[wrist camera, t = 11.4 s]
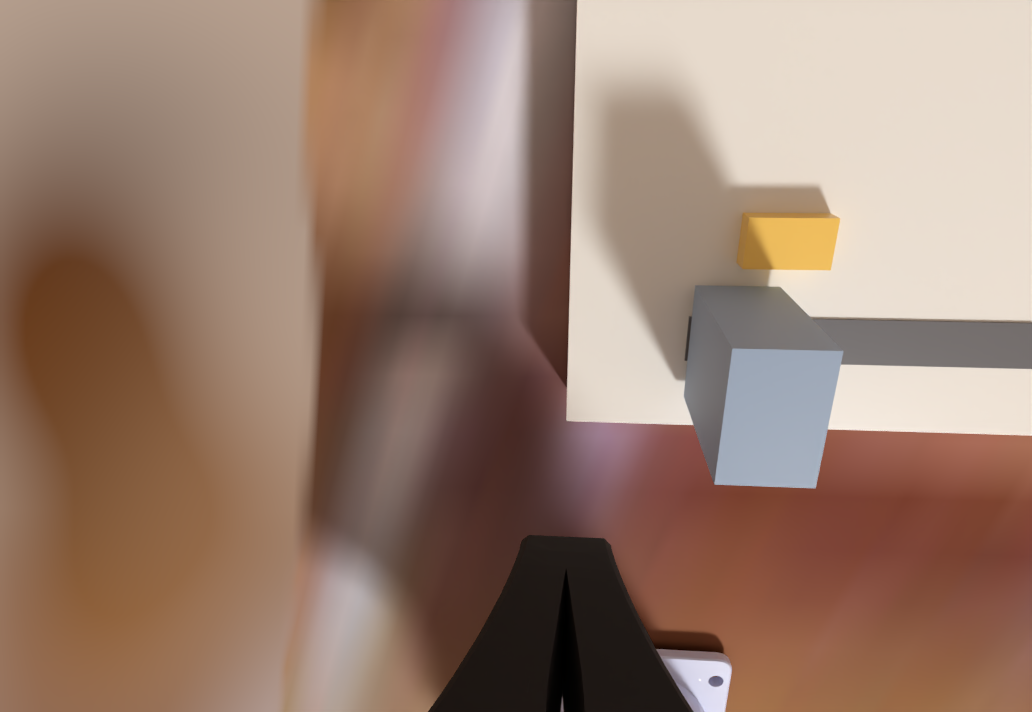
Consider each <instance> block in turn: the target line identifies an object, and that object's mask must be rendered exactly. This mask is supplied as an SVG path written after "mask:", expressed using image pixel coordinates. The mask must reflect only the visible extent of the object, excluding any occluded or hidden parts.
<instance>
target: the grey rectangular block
mask: <svg viewBox="0 0 1032 712" xmlns="http://www.w3.org/2000/svg"><path fill="white" fill-rule="evenodd" d="M842 356H843V350H842V349H841V348H840V347H839V346H838V345H837V344H836V343H835V342H834V341H833V340H832V339H831V338H830V337H829V336H828V335H827V334H826V333H825V332H824V331H823V330H822V329H821V328H820V327H819V326H818V325H817V324H816V323H815V322H814V321H813V320H812V319H811V318H810V316H809V315H808V314H807V313H806V312H805V311H804V310H803V309H802V308H801V307H800V306H799V305H798V304H797V303H796V302H795V301H794V300H793V299H792V298H791V297H790V296H789V295H788V294H787V293H786V292H785V291H784V290H783V289H782V288H781V287H769V286H704V285H695V292H694V302H693V311H692V321H691V330H690V340H689V350H688V359H687V369H686V379H685V388H684V399H685V402H686V405H687V407H688V410H689V413H690V416H691V419H692V422H693V425H694V428H695V430H696V433H697V436H698V439H699V442H700V445H701V448H702V450H703V453H704V456H705V459H706V462H707V465H708V468H709V470H710V473H711V476H712V479H713V482H714V484H715V485H742V486H769V487H795V488H816V483H817V478H818V473H819V469H820V464H821V459H822V454H823V449H824V444H825V439H826V434H827V430H828V425H829V420H830V415H831V410H832V405H833V400H834V395H835V390H836V386H837V381H838V376H839V371H840V366H841V361H842Z"/></svg>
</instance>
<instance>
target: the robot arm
mask: <svg viewBox="0 0 1032 712" xmlns="http://www.w3.org/2000/svg"><path fill="white" fill-rule="evenodd" d="M731 673H732V668H731V663H730V660H729V658H728V657H727V656H726V655H724V654H723V653H718V652H703V651H685V650H667V649H656V648H655V646H654V644H653V642H652V641H651V639H650V637H649V635H648V633H647V631H646V629H645V627H644V625H643V623H642V621H641V619H640V618H639V616H638V614H637V611H636V609H635V607H634V605H633V603H632V601H631V599H630V596H629V594H628V592H627V590H626V587H625V585H624V583H623V580H622V578H621V575H620V573H619V570H618V568H617V565H616V562H615V559H614V556H613V553H612V549H611V545H610V544H609V543H608V542H607V541H606V540H605V539H603V538H581V537H558V536H535V535H529V536H527V537H526V538H525V539H523V540H522V542H521V546H520V550H519V553H518V556H517V558H516V561H515V564H514V566H513V569H512V571H511V573H510V576H509V578H508V580H507V582H506V584H505V586H504V589H503V591H502V593H501V595H500V597H499V599H498V601H497V602H496V604H495V606H494V608H493V610H492V612H491V614H490V615H489V617H488V619H487V621H486V623H485V625H484V627H483V629H482V630H481V632H480V634H479V635H478V637H477V639H476V640H475V642H474V644H473V645H472V647H471V648H470V650H469V652H468V653H467V655H466V656H465V658H464V660H463V661H462V663H461V664H460V666H459V668H458V669H457V671H456V672H455V674H454V675H453V677H452V678H451V680H450V681H449V683H448V684H447V686H446V687H445V689H444V690H443V692H442V693H441V695H440V696H439V697H438V699H437V700H436V702H435V703H434V704H433V706H432V707H431V708H430V710H429V711H428V712H725V709H726V703H727V697H728V691H729V685H730V679H731ZM712 676H717V677H712Z"/></svg>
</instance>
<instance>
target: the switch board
mask: <svg viewBox="0 0 1032 712" xmlns="http://www.w3.org/2000/svg"><path fill="white" fill-rule="evenodd" d="M695 285H704V286H769V287H781V288H782V289H783V290H784V291H785V292H786V293H787V294H788V295H789V296H790V297H791V298H792V299H793V300H794V301H795V302H796V303H797V304H798V305H799V306H800V307H801V308H802V309H803V310H804V311H805V312H806V313H807V314H808V315H809V316H810V318H811V319H812V320H813V321H814V322H815V323H816V324H817V325H818V326H819V327H820V328H821V329H822V330H823V331H824V332H825V333H826V334H827V335H828V336H829V337H830V338H831V339H832V340H833V341H834V342H835V343H836V344H837V345H838V346H839V347H840V348H841V349H842V350H843V356H842V361H841V366H840V371H839V376H838V381H837V386H836V390H835V395H834V400H833V405H832V410H831V415H830V420H829V425H828V429H837V430H870V431H902V432H934V433H967V434H999V435H1031V436H1032V0H577V14H576V53H575V92H574V131H573V170H572V209H571V248H570V287H569V326H568V365H567V415H566V421H579V422H611V423H643V424H676V425H693V422H692V419H691V416H690V413H689V410H688V407H687V405H686V402H685V399H684V388H685V379H686V369H687V359H688V350H689V340H690V330H691V321H692V311H693V302H694V292H695Z"/></svg>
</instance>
